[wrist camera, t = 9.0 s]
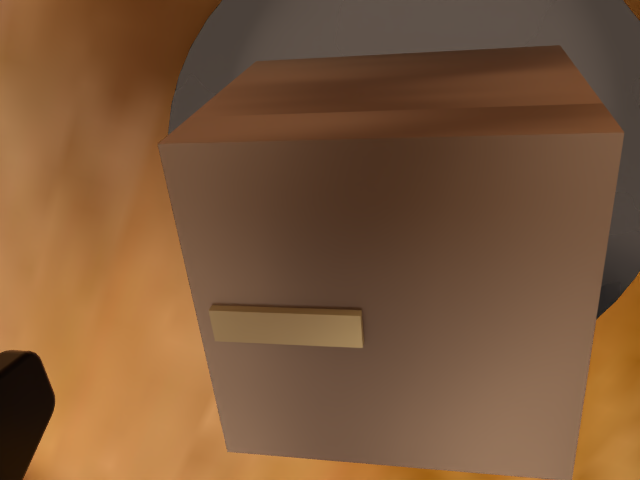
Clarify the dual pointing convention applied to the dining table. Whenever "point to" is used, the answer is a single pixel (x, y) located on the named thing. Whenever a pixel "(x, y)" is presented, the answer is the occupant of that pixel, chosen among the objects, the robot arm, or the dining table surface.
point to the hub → (434, 36)
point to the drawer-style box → (400, 255)
